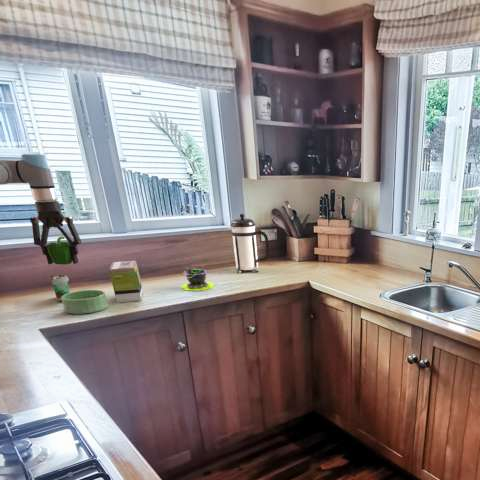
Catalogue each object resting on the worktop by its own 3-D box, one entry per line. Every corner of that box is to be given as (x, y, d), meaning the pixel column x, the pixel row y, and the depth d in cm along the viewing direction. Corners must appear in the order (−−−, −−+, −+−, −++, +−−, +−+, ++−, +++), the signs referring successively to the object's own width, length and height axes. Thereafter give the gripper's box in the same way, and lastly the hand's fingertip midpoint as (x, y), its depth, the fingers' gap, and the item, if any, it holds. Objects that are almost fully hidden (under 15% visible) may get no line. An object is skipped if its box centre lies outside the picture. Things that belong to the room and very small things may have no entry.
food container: (74, 301, 200) (68, 278, 196) (58, 303, 197) (51, 280, 193) (72, 294, 209) (66, 272, 205) (56, 296, 206) (50, 274, 202)
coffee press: (248, 275, 247) (242, 216, 234) (227, 271, 254) (220, 213, 242) (271, 269, 260) (267, 213, 247) (251, 265, 268) (246, 211, 255)
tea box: (119, 294, 211) (111, 261, 204) (143, 292, 214) (137, 259, 208) (116, 303, 198) (108, 268, 192) (142, 301, 202) (135, 266, 195)
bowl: (58, 315, 182) (54, 300, 180) (74, 304, 196) (70, 290, 193) (100, 314, 184) (96, 299, 182) (113, 303, 198) (110, 289, 196)
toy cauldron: (182, 284, 229) (178, 261, 224) (214, 282, 233) (211, 259, 228) (180, 291, 216) (176, 268, 211) (214, 289, 220) (211, 266, 215)
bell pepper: (55, 267, 174) (47, 239, 170) (48, 263, 179) (41, 237, 175) (80, 263, 180) (73, 237, 175) (72, 260, 185) (66, 234, 180)
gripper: (81, 199, 174) (96, 260, 184) (20, 199, 171) (38, 261, 181) (73, 201, 168) (89, 264, 177) (9, 201, 165) (29, 266, 174)
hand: (63, 263), depth 179 cm, fingers closed on bell pepper, 8 cm apart
